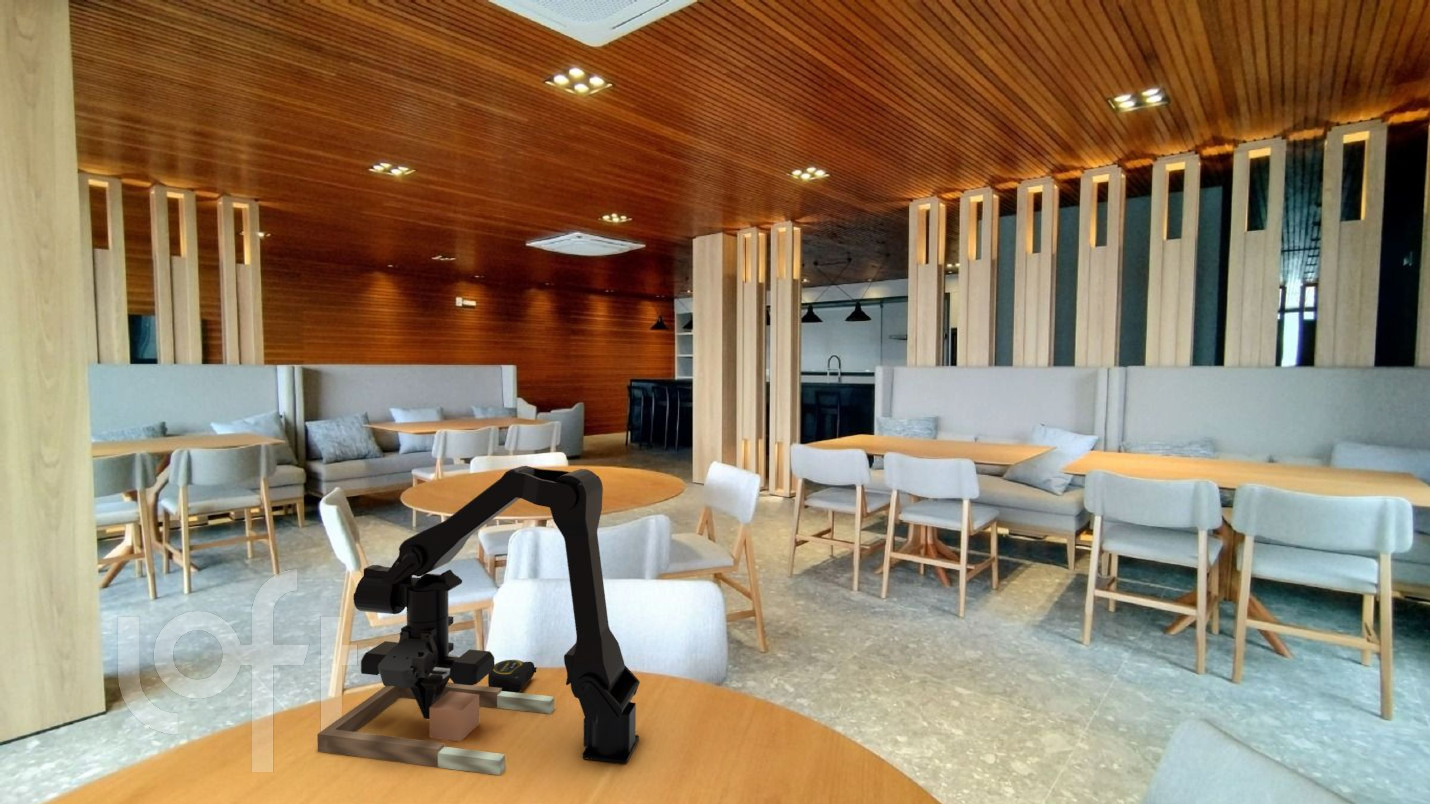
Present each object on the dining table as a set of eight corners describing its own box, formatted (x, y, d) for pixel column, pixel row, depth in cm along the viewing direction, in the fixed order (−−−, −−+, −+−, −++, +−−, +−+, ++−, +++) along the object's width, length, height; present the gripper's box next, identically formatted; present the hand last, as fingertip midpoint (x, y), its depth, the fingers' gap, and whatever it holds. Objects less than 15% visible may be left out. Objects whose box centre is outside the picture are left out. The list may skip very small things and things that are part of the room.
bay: (554, 709, 105) (554, 693, 105) (499, 775, 88) (499, 757, 88) (398, 691, 110) (398, 676, 110) (317, 751, 93) (317, 733, 92)
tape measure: (519, 700, 108) (519, 677, 108) (480, 696, 109) (480, 674, 109) (536, 680, 115) (536, 659, 115) (499, 677, 116) (499, 656, 116)
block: (479, 723, 100) (479, 694, 100) (461, 741, 95) (460, 711, 95) (449, 719, 101) (449, 691, 101) (429, 737, 96) (429, 707, 96)
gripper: (332, 631, 92) (333, 740, 93) (454, 643, 89) (455, 756, 90) (385, 603, 103) (386, 701, 104) (496, 613, 100) (496, 714, 100)
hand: (428, 717), depth 99 cm, fingers closed
